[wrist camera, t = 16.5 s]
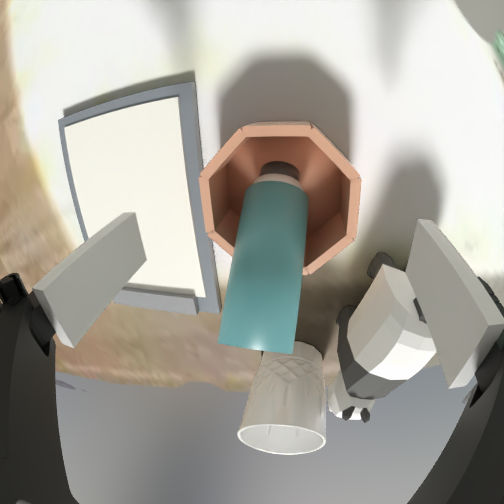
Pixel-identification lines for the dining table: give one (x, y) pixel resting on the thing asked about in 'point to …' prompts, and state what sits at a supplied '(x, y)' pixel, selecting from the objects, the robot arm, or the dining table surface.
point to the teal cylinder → (267, 263)
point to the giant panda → (379, 342)
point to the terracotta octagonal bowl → (311, 178)
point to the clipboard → (147, 192)
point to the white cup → (287, 403)
